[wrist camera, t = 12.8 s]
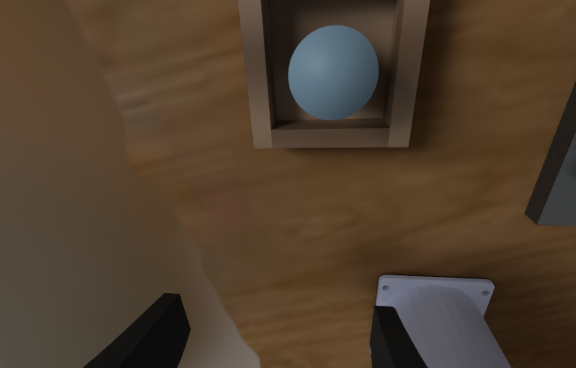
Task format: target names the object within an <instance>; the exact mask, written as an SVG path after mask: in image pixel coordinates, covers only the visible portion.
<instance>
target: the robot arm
mask: <svg viewBox="0 0 576 368" xmlns="http://www.w3.org/2000/svg"><path fill="white" fill-rule="evenodd" d="M384 286H386V287H384ZM494 288H495V286H494V284H493V283H492V281H490V280H487V279H466V278H444V277H422V276H400V275H383V276H381V277H380V278H379V283H378V291H377V299H376V305H375V306H374V314H373V322H372V330H371V338H370V353H371V359H372V368H511V366H510V364H509V363H508V361H507V359H506V357H505V355H504V354H503V352H502V350H501V348H500V347H499V345H498V343H497V341H496V339H495V338H494V336H493V334H492V332H491V331H490V329H489V327H488V325H487V324H486V322H485V320H484V318H483V317H484V314H485V311H486V309H487V306H488V304H489V301H490V298H491V296H492V293H493V291H494ZM190 330H191V329H190V326H189V322H188V319H187V316H186V313H185V310H184V306H183V303H182V300H181V297H180V294H172V293H164V294H163V295H162V296H161V297H160V298H159V299H158V300H157V301H156V302H155V303H154V304H152V305H151V306H150V307H149V308H148V309H147V310H146V311H145V312H144V313H143V314H142V315H141V316H140V317H139V318H138V319H137V320H136V321H135V322H133V323H132V324H131V325H130V326H129V327H128V328H127V329H126V330H125V331H124V332H123V333H122V334H121V335H119V336H118V337H117V338H116V339H115V340H114V341H113V342H112V343H111V344H110V345H109V346H107V347H106V348H105V349H104V350H103V351H102V352H101V353H99V354H98V355H97V356H96V357H95V358H94V359H93V360H91V361H90V362H89V363H88V364H87V365H86V366H85V367H84V368H177V367H178V364H179V362H180V360H181V357H182V355H183V351H184V349H185V346H186V342H187V339H188V336H189V333H190Z"/></svg>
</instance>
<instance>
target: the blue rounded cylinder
mask: <svg viewBox="0 0 576 368" xmlns="http://www.w3.org/2000/svg"><path fill="white" fill-rule="evenodd" d="M378 73H379V66H378V59H377V56H376V53H375V50H374V48H373V46H372V45H371V43H370V42H369V41H368V39H367V38H366V37H365V36H364V35H362V34H361V33H360V32H358V31H357V30H355V29H352V28H350V27H346V26H341V25H331V26H326V27H322V28H319V29H317V30H315V31H313V32H312V33H310V34H309V35H307V36H306V37H305V38H304V39H303V40H302V41H301V42H300V44H299V45H298V46H297V48H296V49H295V51H294V53H293V55H292V58H291V61H290V65H289V72H288V79H289V86H290V90H291V93H292V95H293V97H294V99H295V101H296V102H297V103H298V105H299V106H300V107H301V108H302V109H303V110H304V111H305V112H307V113H308V114H310V115H312V116H314V117H316V118H319V119H323V120H338V119H343V118H346V117H348V116H351V115H352V114H354V113H356V112H357V111H359V110H360V109H361V108H362V107H363V106H364V105H365V104H366V103H367V102H368V100H369V99H370V97H371V96H372V94H373V92H374V90H375V87H376V84H377V80H378Z"/></svg>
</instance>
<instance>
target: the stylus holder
mask: <svg viewBox="0 0 576 368" xmlns="http://www.w3.org/2000/svg"><path fill="white" fill-rule="evenodd" d="M429 5H430V0H238V6H239V15H240V24H241V33H242V42H243V51H244V60H245V69H246V79H247V88H248V97H249V106H250V115H251V124H252V133H253V142H254V148H356V147H408V146H409V139H410V132H411V126H412V119H413V112H414V106H415V99H416V92H417V86H418V79H419V72H420V65H421V59H422V52H423V45H424V39H425V32H426V25H427V19H428V12H429ZM331 25H341V26H346V27H350V28H352V29H355V30H357V31H358V32H360V33H361V34H362V35H364V36H365V37H366V38H367V39H368V41H369V42H370V43H371V45H372V46H373V48H374V50H375V53H376V56H377V59H378V66H379V73H378V80H377V84H376V87H375V90H374V92H373V94H372V96H371V97H370V99H369V100H368V102H367V103H366V104H365V105H364V106H363V107H362V108H361V109H360V110H359V111H357V112H356V113H354V114H352V115H351V116H348V117H346V118H343V119H338V120H323V119H319V118H316V117H314V116H312V115H310V114H308V113H307V112H305V111H304V110H303V109H302V108H301V107H300V106H299V105H298V103H297V102H296V101H295V99H294V97H293V95H292V93H291V90H290V86H289V79H288V72H289V65H290V61H291V58H292V55H293V53H294V51H295V49H296V48H297V46H298V45H299V44H300V42H301V41H302V40H303V39H304V38H305V37H306V36H307V35H309V34H310V33H312V32H313V31H315V30H317V29H319V28H322V27H326V26H331Z"/></svg>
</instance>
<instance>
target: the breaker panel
mask: <svg viewBox="0 0 576 368" xmlns="http://www.w3.org/2000/svg"><path fill="white" fill-rule="evenodd" d="M525 214H526V215H527V216H528V217H529V218H530V219H531V220H532V221H533V222H535V223H536V224H537V225H574V226H576V83H575V85H574V88H573V90H572V93H571V95H570V98H569V101H568V103H567V106H566V108H565V111H564V114H563V116H562V119H561V121H560V124H559V126H558V129H557V132H556V134H555V137H554V139H553V142H552V144H551V147H550V150H549V152H548V155H547V157H546V160H545V162H544V165H543V168H542V170H541V173H540V175H539V178H538V181H537V183H536V186H535V188H534V191H533V193H532V196H531V199H530V201H529V204H528V206H527V209H526V211H525Z"/></svg>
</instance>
